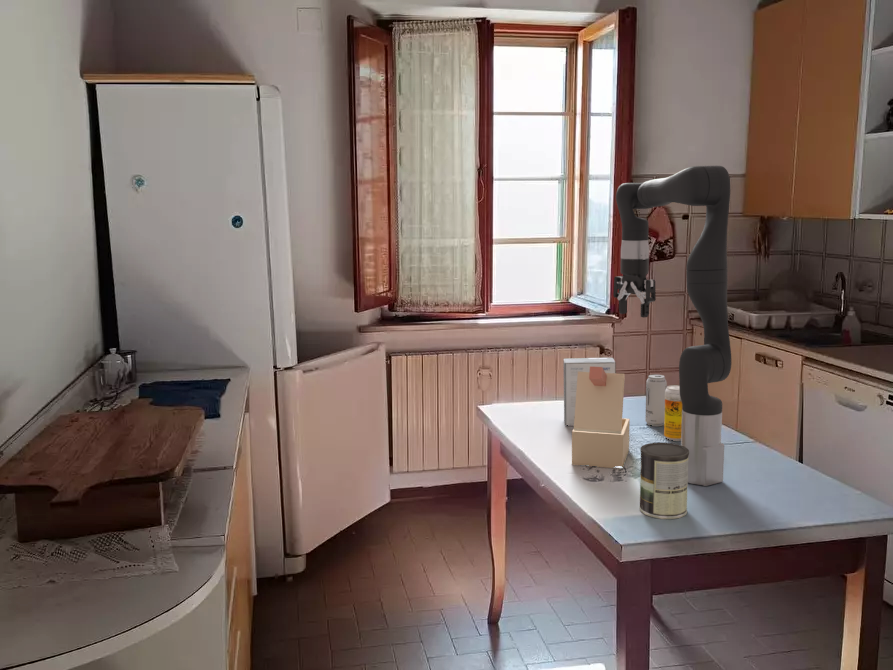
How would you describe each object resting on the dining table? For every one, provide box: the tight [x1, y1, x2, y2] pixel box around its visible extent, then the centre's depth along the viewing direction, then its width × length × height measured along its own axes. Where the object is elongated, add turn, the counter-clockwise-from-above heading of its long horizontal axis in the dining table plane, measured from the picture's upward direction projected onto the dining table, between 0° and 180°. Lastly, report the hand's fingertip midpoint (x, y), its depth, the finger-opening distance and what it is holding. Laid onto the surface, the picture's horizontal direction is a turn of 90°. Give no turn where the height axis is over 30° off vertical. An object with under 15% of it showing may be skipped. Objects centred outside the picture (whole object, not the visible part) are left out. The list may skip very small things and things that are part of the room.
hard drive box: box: [563, 357, 617, 427], centre depth 246 cm, size 16×8×20 cm, turn 84°
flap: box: [573, 366, 626, 434], centre depth 203 cm, size 15×12×11 cm
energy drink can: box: [644, 374, 668, 427], centre depth 244 cm, size 6×6×15 cm
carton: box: [571, 417, 631, 469], centre depth 214 cm, size 16×13×9 cm
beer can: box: [663, 384, 682, 442], centre depth 229 cm, size 6×6×15 cm
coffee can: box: [639, 442, 689, 520], centre depth 176 cm, size 10×10×14 cm
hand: (633, 315), depth 223 cm, fingers open, 8 cm apart
